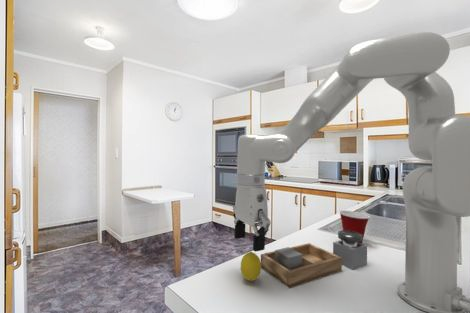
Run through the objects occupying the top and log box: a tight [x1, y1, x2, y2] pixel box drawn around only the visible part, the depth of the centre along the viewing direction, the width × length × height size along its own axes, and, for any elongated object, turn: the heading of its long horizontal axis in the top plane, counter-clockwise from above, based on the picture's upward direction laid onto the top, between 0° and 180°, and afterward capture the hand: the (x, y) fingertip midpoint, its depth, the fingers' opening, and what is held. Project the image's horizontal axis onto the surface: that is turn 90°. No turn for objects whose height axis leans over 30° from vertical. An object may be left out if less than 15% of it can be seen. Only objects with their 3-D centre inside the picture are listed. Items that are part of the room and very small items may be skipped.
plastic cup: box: [338, 210, 371, 244], centre depth 94 cm, size 11×11×12 cm
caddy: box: [260, 242, 343, 289], centre depth 73 cm, size 13×20×6 cm, turn 118°
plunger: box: [337, 229, 362, 248], centre depth 77 cm, size 7×7×8 cm
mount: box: [332, 239, 368, 270], centre depth 77 cm, size 7×7×6 cm
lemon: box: [240, 251, 262, 282], centre depth 66 cm, size 6×6×8 cm
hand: (248, 243), depth 66 cm, fingers open, 9 cm apart
